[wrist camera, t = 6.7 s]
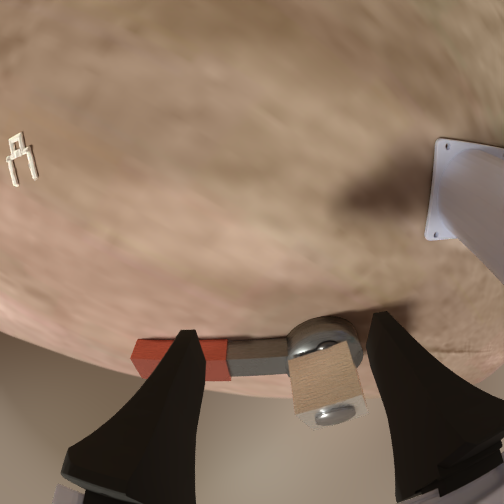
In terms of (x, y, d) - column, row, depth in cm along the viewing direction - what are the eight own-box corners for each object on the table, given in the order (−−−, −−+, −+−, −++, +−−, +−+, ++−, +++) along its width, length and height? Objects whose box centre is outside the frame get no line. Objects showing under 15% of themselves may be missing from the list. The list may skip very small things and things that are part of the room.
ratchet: (361, 312, 23) (377, 352, 19) (350, 360, 27) (361, 398, 23) (130, 325, 25) (114, 364, 20) (153, 370, 28) (143, 406, 24)
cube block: (346, 340, 21) (362, 398, 17) (356, 367, 24) (369, 416, 19) (287, 360, 22) (295, 418, 18) (305, 384, 25) (313, 433, 21)
